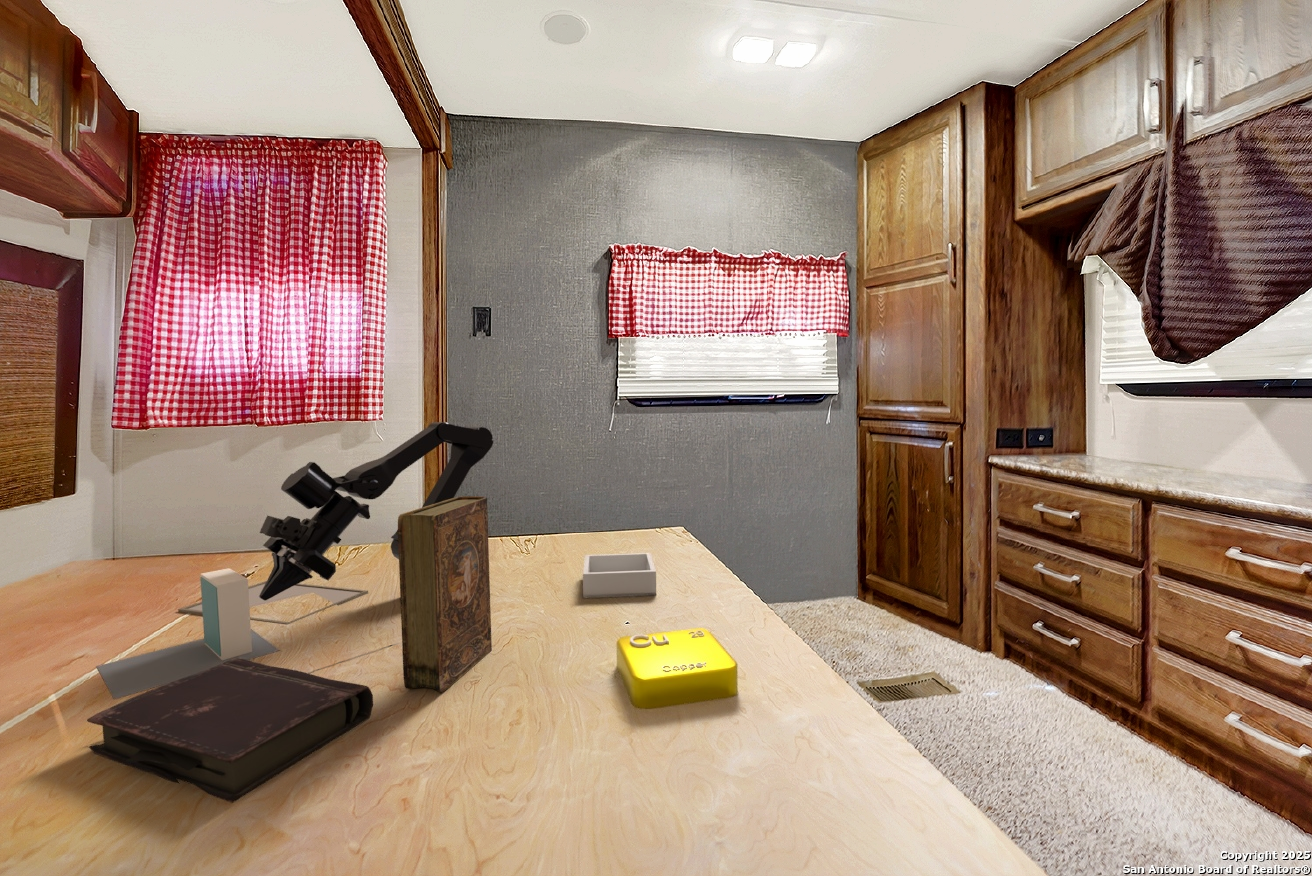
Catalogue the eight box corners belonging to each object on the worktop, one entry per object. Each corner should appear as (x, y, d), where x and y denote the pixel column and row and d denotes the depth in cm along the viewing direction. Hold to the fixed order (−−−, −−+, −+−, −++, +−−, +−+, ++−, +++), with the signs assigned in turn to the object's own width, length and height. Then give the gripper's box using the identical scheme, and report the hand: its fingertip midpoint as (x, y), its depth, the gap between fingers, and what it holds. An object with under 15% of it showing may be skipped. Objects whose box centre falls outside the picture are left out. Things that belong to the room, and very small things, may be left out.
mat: (248, 629, 106) (248, 627, 106) (280, 652, 96) (279, 650, 96) (96, 668, 91) (96, 666, 91) (114, 702, 80) (114, 699, 80)
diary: (244, 686, 85) (242, 652, 85) (374, 718, 76) (372, 680, 76) (80, 760, 68) (77, 718, 68) (224, 813, 59) (221, 764, 59)
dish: (650, 574, 136) (650, 552, 136) (656, 595, 121) (656, 571, 121) (585, 576, 135) (585, 555, 135) (583, 598, 120) (582, 574, 120)
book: (465, 644, 98) (459, 495, 96) (495, 647, 97) (490, 496, 95) (404, 693, 82) (396, 515, 80) (439, 696, 81) (432, 516, 79)
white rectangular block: (233, 636, 102) (229, 568, 101) (252, 651, 95) (247, 579, 94) (203, 644, 98) (199, 573, 98) (221, 660, 92) (216, 585, 91)
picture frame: (178, 614, 115) (287, 629, 107) (178, 609, 115) (287, 623, 107) (268, 584, 134) (368, 595, 125) (268, 580, 134) (368, 590, 125)
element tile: (634, 713, 76) (633, 677, 76) (614, 663, 91) (614, 633, 90) (742, 698, 80) (742, 663, 79) (706, 652, 94) (706, 623, 94)
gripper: (273, 492, 109) (204, 564, 102) (312, 503, 97) (237, 584, 90) (321, 527, 116) (259, 597, 108) (363, 541, 104) (297, 620, 96)
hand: (261, 599), depth 100 cm, fingers closed
